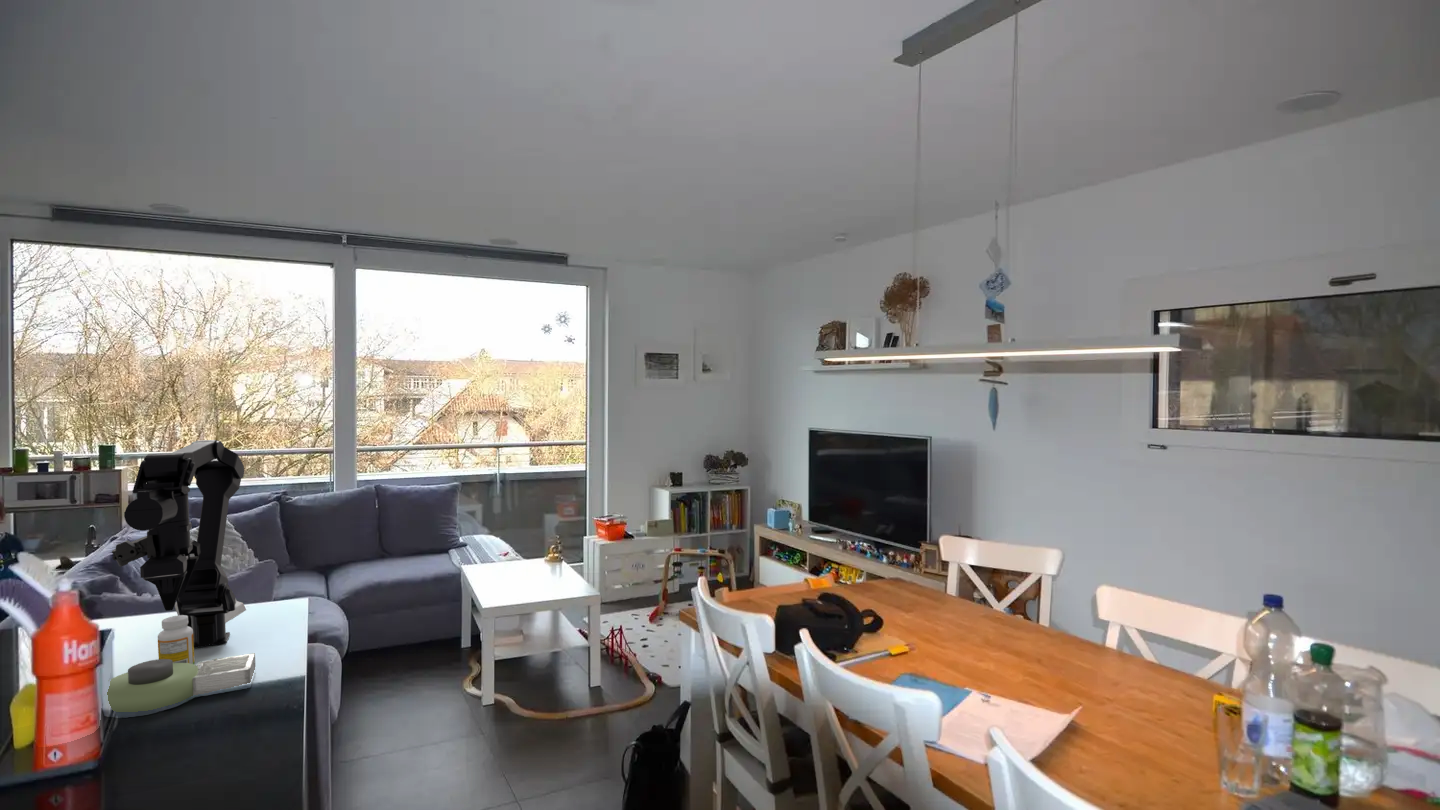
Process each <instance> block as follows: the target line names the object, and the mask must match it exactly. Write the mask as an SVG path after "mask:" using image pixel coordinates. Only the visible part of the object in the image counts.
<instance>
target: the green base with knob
mask: <svg viewBox="0 0 1440 810" xmlns="http://www.w3.org/2000/svg"><path fill="white" fill-rule="evenodd" d="M197 674H198V667H197V664H195V665H194V664H190V663H173V661H172V660H170V659H159V658H158V659H151V660H147V661H144V662H141V663H136V664H134V665H132V666H130V667H129V668H128V669H127V672H124V673H122V674H119V675H117V676H114V677H112V678H110V679H111V681H110V686H109V689H108V692H107V695H108V701H109V704H110V706H111V708H112V710H113V711H116V712H138V711H148V710H153V709H157V708H161V707H164V706H168V705H172V704H175V703H178V702H181V701H183V700H185V699H187V698H189V697H191V696H193V679H192V678H193V677H195V676H196V675H197Z"/></svg>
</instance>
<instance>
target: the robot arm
mask: <svg viewBox="0 0 1440 810" xmlns="http://www.w3.org/2000/svg"><path fill="white" fill-rule="evenodd" d="M137 471H138V472H137V475H136V478H135V480H134V485H133V487H132V494H136V499H134V500H132V501H131V502H130V503H129V504H127V506H126V508H125V511H124V512H123V513H124V514H123V516H124V520H125V522H126V524H127V525H128V526H129V527H130V528H132V529H133V530H136V531H141V532H144V531H146V535H145V536H142V537H139V538H138V539H135V540H133V541H130V540H125V541H122V542H120V543H117V544H115V548H114V549H112V551H111V553H112V560H113V561H116V562H117V565H118V567H124V566H127V565H129V563H130V562H133V561H136V560H138V559H141V558H143V557H145V556H147V560H146V561H145V562H144V563H143V564H142V565H141V566H140V567H139V570H140V571H139V573H140V574H139V575H140V579H143V580H144V581H145V582H149V583H151V584H153V585H154V586H155V588H156V590H157V592H158V596H159V597H160V600H161V602H162V605H163V608H164V611H166V612H167V611H172V610H174V608H175V603H176V602H177V606H178V610H179V614H180V615H187V616H191V621H192V629H193V638H194V649H197V648H202V647H209V646H210V647H211V646H216V645H223V644H226V643H227V641H228V640H229V638H230V635H231V632H229V631H227V630H226V623H225V613H228V612H230V611H234V610H235V604H236V601H235V599H236V600H237V598H236V595H235V594H234V592H233V590H232V588H231V587H230V585H229V578H228V576H227V574H226V573H225V571H224V570H223V569H224V568H222V558H223V557H222V556H223V549H224V544H225V543H224V542H225V535H226V526H227V519H228V513H229V512H228V511H229V506H230V505H229V504H230V503H229V502H230V500H231V499H232V497H234V495H236V493H237V491H239V489H240V487H241V481H242V479H244V477H245V466H244V464H243V461H242V459H241V458H240V455H239V454H238V453H236V452H234V451H232V450H230V449H229V448H227V447H225V445H224V444H223V441H221V440H217V439H206V440H205V439H204V440H203V439H200V440H195V441H192V442H191V443H190V444H188V445H187V446H184V447H182V448H180V449H177V450H174V451H173V452H168V453H167V452H165V453H164V452H162V453H148V454H147V455H145V456H144V458H143V460H141V462H140V464H139V469H138V470H137ZM193 479H195V485H196V487H197V488H198V490H199V492H200V493H201V495H202V504H201V510H200V516H199V524H198V529H197V537H196V540H195V539H191V529H192V528H193V524H192V522H191V521H190V509H189V505H190V504H189V493H190V492H191V488H190V487H191V484H192V483H193ZM191 555H194V556H191ZM226 631H227V632H226Z"/></svg>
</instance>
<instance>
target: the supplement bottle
mask: <svg viewBox="0 0 1440 810" xmlns="http://www.w3.org/2000/svg"><path fill="white" fill-rule="evenodd" d="M187 624H188V616H187V615H172V616H169V617H165V618H162V620H161V629H163V630H161V631H160V632H159V633H158V634H157V652H158V659H170V660H172V661H173V663H190V664H194V665H196V663H195V648H194V638H193V629H192V628H191V627H189V626H187Z"/></svg>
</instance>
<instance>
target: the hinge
mask: <svg viewBox="0 0 1440 810" xmlns="http://www.w3.org/2000/svg"><path fill="white" fill-rule="evenodd" d="M235 601H236V604H235V610H234V611H230V612H228V613H225V624H226V623H228V622H229V621H232V619H234V618H235V617H237V616H239V615H240V614H242V613H244V612H246V611H247V609H246V607H245V604H244V602H241V601H238V600H237V598H236V599H235ZM174 608H175V611H176V614H177V615H176V616H178V615H180V614H179V610H178V606H177V602H176V603H175V606H174ZM187 626H189V627H191V628H192V621H191V616H188V624H187Z"/></svg>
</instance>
